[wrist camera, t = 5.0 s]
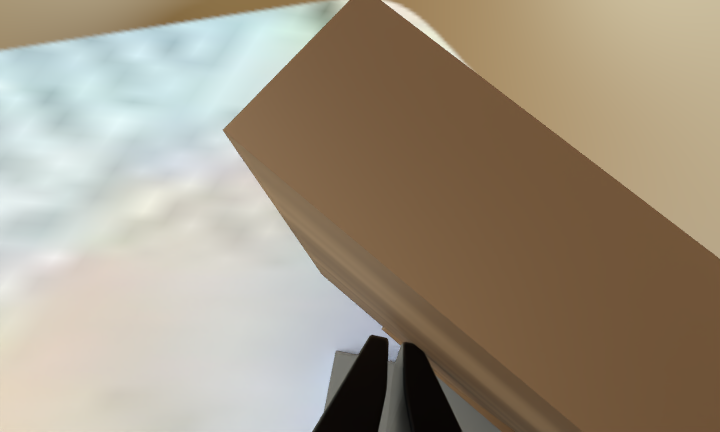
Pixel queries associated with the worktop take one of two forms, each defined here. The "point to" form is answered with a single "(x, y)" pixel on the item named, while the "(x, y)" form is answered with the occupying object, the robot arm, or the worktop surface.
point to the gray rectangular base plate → (469, 419)
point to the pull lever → (484, 236)
